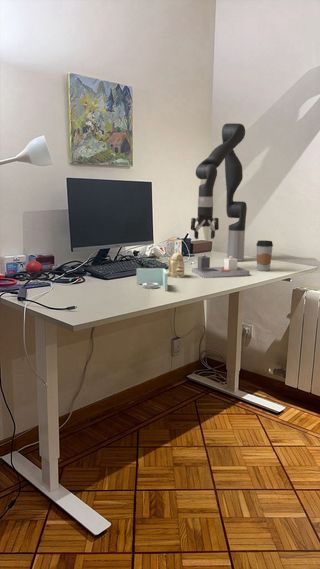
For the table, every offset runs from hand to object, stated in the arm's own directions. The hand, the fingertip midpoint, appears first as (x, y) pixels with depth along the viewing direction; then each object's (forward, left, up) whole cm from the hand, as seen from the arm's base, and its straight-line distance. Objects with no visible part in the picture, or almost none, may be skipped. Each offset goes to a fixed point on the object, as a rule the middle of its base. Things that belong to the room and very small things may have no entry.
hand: (204, 238), depth 232 cm
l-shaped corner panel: (+34, -39, -17) cm, 54 cm away
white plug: (+13, +9, -16) cm, 22 cm away
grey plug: (0, 0, -16) cm, 16 cm away
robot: (+15, -21, -17) cm, 30 cm away
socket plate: (+13, +3, -16) cm, 21 cm away
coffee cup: (+8, +30, -16) cm, 35 cm away
